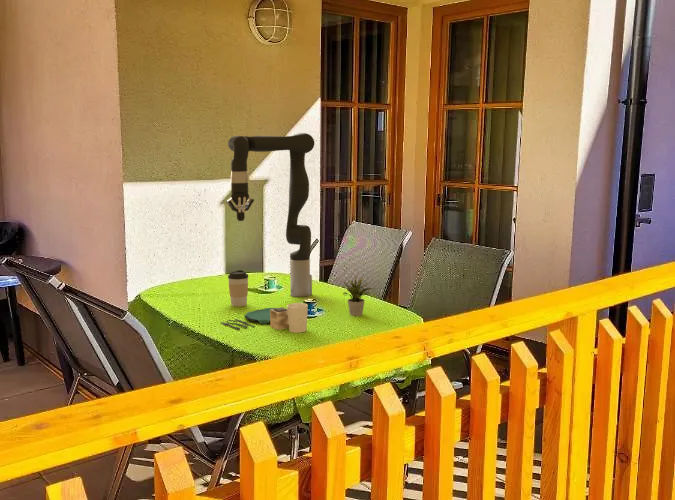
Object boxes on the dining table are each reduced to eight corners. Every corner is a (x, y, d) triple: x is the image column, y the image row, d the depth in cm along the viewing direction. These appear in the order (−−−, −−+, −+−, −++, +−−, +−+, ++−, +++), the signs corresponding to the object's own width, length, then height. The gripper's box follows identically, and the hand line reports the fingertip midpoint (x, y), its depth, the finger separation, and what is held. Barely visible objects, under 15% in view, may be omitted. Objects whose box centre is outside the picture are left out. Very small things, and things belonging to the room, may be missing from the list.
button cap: (282, 313, 277) (282, 307, 276) (286, 315, 274) (286, 309, 273) (274, 314, 275) (274, 308, 274) (278, 316, 272) (278, 310, 271)
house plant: (346, 321, 283) (346, 281, 280) (331, 313, 295) (331, 275, 292) (377, 316, 289) (377, 278, 287) (360, 309, 301) (360, 272, 299)
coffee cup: (245, 307, 306) (244, 273, 304) (225, 306, 308) (224, 273, 306) (251, 302, 315) (251, 270, 313) (232, 301, 317) (231, 269, 315)
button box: (283, 324, 279) (283, 307, 278) (291, 327, 274) (291, 310, 273) (270, 326, 276) (270, 309, 275) (277, 330, 271) (277, 312, 270)
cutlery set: (303, 319, 287) (303, 313, 287) (240, 333, 269) (239, 327, 269) (276, 310, 303) (276, 305, 302) (214, 323, 284) (214, 317, 284)
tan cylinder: (287, 328, 274) (287, 303, 272) (307, 327, 274) (307, 302, 273) (287, 333, 266) (287, 308, 264) (308, 333, 266) (308, 307, 265)
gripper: (249, 180, 315) (250, 218, 318) (222, 181, 308) (223, 221, 310) (257, 181, 309) (258, 220, 312) (229, 182, 301) (230, 222, 304)
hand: (240, 220), depth 311 cm, fingers closed
